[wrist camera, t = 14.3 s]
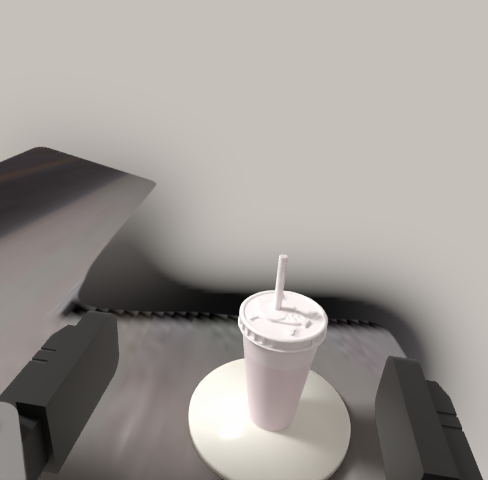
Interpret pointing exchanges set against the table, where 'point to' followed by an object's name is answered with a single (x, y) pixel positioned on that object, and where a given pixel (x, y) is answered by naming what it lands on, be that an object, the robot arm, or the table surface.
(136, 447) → the table surface
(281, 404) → the smoothie
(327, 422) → the plate
